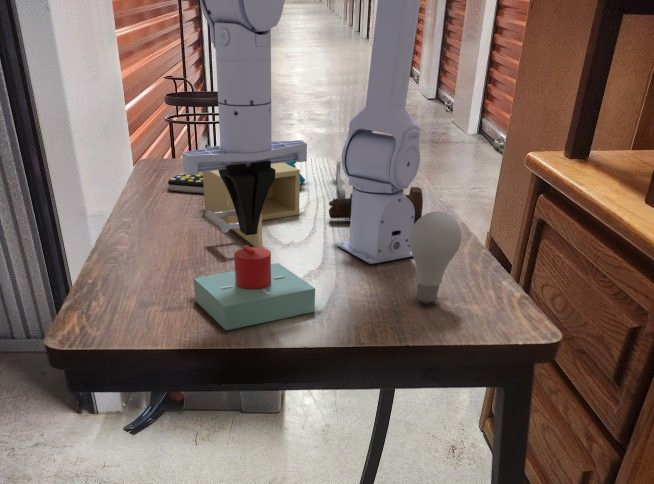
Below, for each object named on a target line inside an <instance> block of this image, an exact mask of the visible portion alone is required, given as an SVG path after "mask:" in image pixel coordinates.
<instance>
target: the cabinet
mask: <svg viewBox="0 0 654 484" xmlns="http://www.w3.org/2000/svg"><path fill="white" fill-rule="evenodd" d="M271 168H273V169H275V180H274V182H273V184H272V185H271V187H270V189H269V192H268V194H267V196H266V199H265V202H264V204H263V208H262V221H266V220H271V219H272V220H273V219H280V218H286V217H291V216H299V215H300V189H301V188H300V186H301V185H300V184H301V182H300V174H301V170H300V169H299V168H297V167H295V168H294V167H292V166H290V165H288V164H285V163H275V164H271ZM202 176H203V184H204V194H203V195H204V197H203V198H204V199H203V200H204V211H205V212H206V211H207V210H211V211H212V212H219V211H226V210H227V208H226V188H225V184H224V182H223V180H222V178H221V176H220V174H219V170H214V171H205V172H202ZM220 218H221V219H223V220H224V221H225V222H227V216H226V217H220Z"/></svg>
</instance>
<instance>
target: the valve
mask: <svg viewBox="0 0 654 484" xmlns="http://www.w3.org/2000/svg"><path fill="white" fill-rule="evenodd" d="M233 257H234V271H235V282H236V285H237V286H239V287H241V288H245V289H260V288H264V287H267V286H269V285H270V284H271V264H272V253H271V251H270V250H268V249H266V248H263V247H262V248H257V247H255V246H251V247H250V246H249V245H247V244H246V245H245V244H244V245H242V248H240V249H237V250H236V251H235V252H234V253H233Z"/></svg>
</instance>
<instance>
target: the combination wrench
mask: <svg viewBox="0 0 654 484" xmlns="http://www.w3.org/2000/svg"><path fill="white" fill-rule="evenodd" d="M341 167H342V161H339V160H338V161H336V171H335V172H336V173H335V183H336V193H337V199H338V198H339V199H340V198H341V199H342V198H346V189H345V188H342V178H341Z"/></svg>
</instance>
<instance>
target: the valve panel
mask: <svg viewBox="0 0 654 484" xmlns="http://www.w3.org/2000/svg"><path fill="white" fill-rule="evenodd" d="M193 288H194V290H193V291H194V300H195V302H196V303H197V304H198V305H199V306H200V307H201V308H202V309H203V310H204V311H205V312H206V313H207V314H208V315H209V316H211V318H212V319H213V320H214V321H215V322H217V324H218V325H220V326H221V327H222V328H223V330H225V331H231V330H236V329H240V328H244V327H248V326H254V325H258V324H263V323H269V322H272V321H277V320H278V321H279V320H282V319H287V318H291V317H296V316H302V315H306V314H311V313H315V309H316V287H314V286H312V285H311V284H310V283H308V282H307V281H306V280H304V279H302V278H301V277H299V276H298V275H296V274H295V273H294V272H292V271H291V270H289V269H288V268H287V267H285V266H283V265H282V264H280V263H279V262H276V263H271V284H270V285H269V286H267V287H264V288H260V289H245V288H241V287H239V286H237V285H236V282H235V270H231V271H226V272H220V273H214V274H209V275H203V276H198V277H194V278H193Z"/></svg>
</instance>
